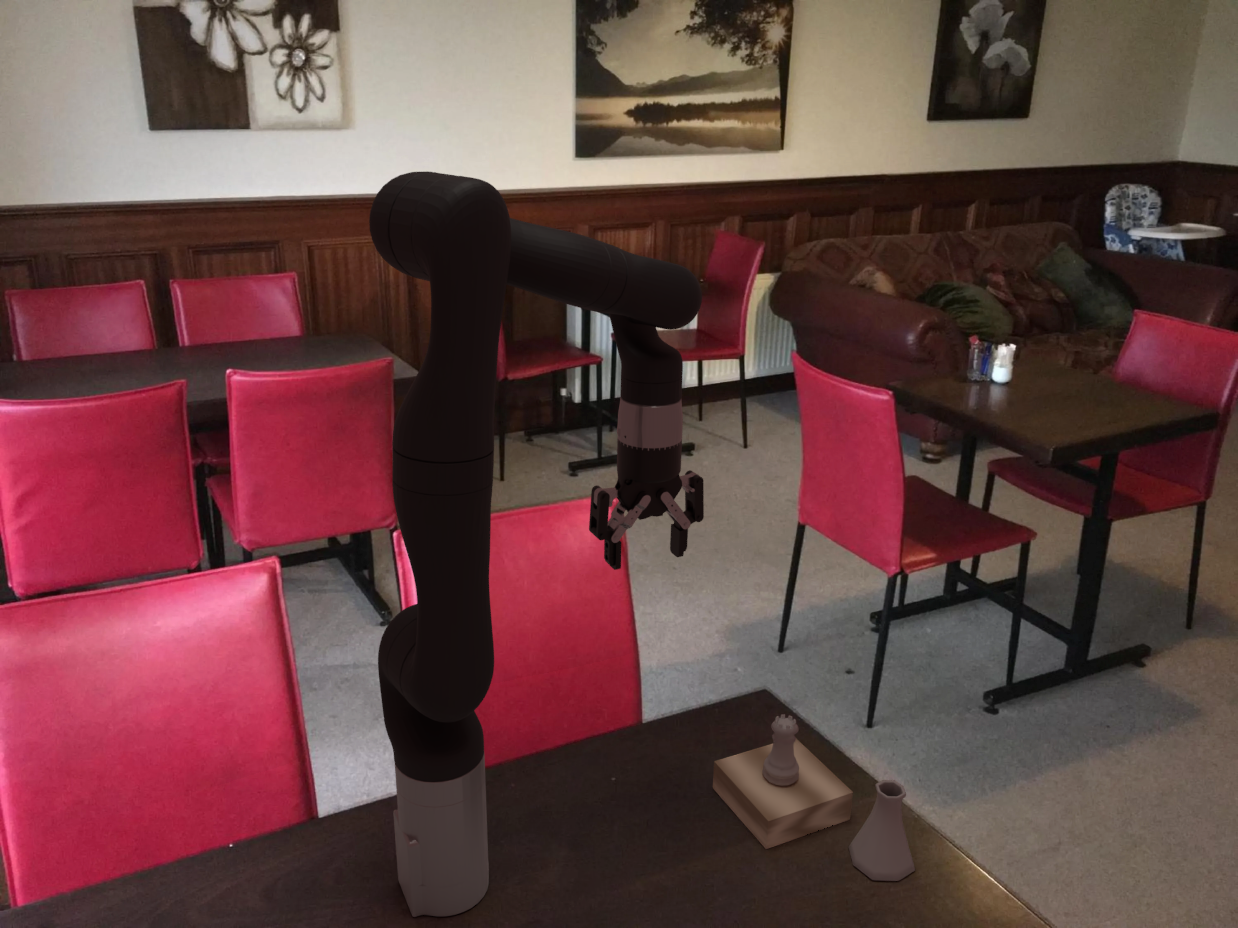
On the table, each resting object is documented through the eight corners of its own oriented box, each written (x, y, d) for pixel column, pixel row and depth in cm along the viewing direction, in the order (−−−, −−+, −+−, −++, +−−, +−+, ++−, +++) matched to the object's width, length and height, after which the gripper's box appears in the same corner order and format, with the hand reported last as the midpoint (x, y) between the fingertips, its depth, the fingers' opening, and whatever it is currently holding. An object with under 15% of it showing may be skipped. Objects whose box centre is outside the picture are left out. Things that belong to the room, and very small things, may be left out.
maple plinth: (766, 849, 119) (768, 820, 118) (712, 787, 129) (714, 761, 128) (849, 819, 124) (853, 792, 122) (792, 762, 134) (794, 736, 133)
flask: (837, 844, 120) (845, 774, 116) (892, 833, 122) (901, 762, 118) (869, 889, 113) (878, 815, 110) (926, 875, 115) (937, 803, 112)
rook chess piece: (797, 765, 127) (803, 710, 124) (800, 789, 123) (806, 732, 120) (761, 763, 127) (765, 708, 124) (762, 786, 123) (767, 730, 120)
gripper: (608, 453, 113) (606, 585, 119) (719, 436, 119) (712, 562, 125) (580, 432, 120) (580, 558, 125) (687, 417, 126) (682, 538, 131)
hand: (646, 560), depth 125 cm, fingers open, 8 cm apart
